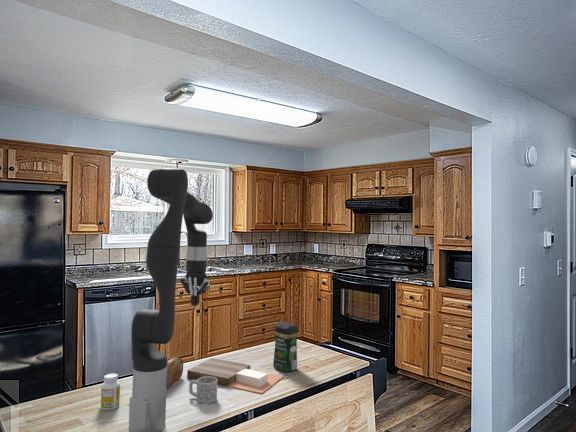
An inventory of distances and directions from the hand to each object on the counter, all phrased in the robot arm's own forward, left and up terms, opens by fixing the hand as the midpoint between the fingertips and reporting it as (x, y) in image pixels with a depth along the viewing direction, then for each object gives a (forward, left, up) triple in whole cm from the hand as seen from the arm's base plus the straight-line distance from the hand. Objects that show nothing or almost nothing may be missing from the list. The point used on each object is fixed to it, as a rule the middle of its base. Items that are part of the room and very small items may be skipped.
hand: (194, 305), depth 159 cm
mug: (-12, -13, -28) cm, 33 cm away
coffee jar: (+28, -25, -28) cm, 46 cm away
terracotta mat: (+10, -22, -28) cm, 36 cm away
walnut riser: (+9, -6, -28) cm, 30 cm away
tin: (-6, +5, -28) cm, 29 cm away
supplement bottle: (-30, +9, -28) cm, 42 cm away
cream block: (+8, -21, -27) cm, 35 cm away
